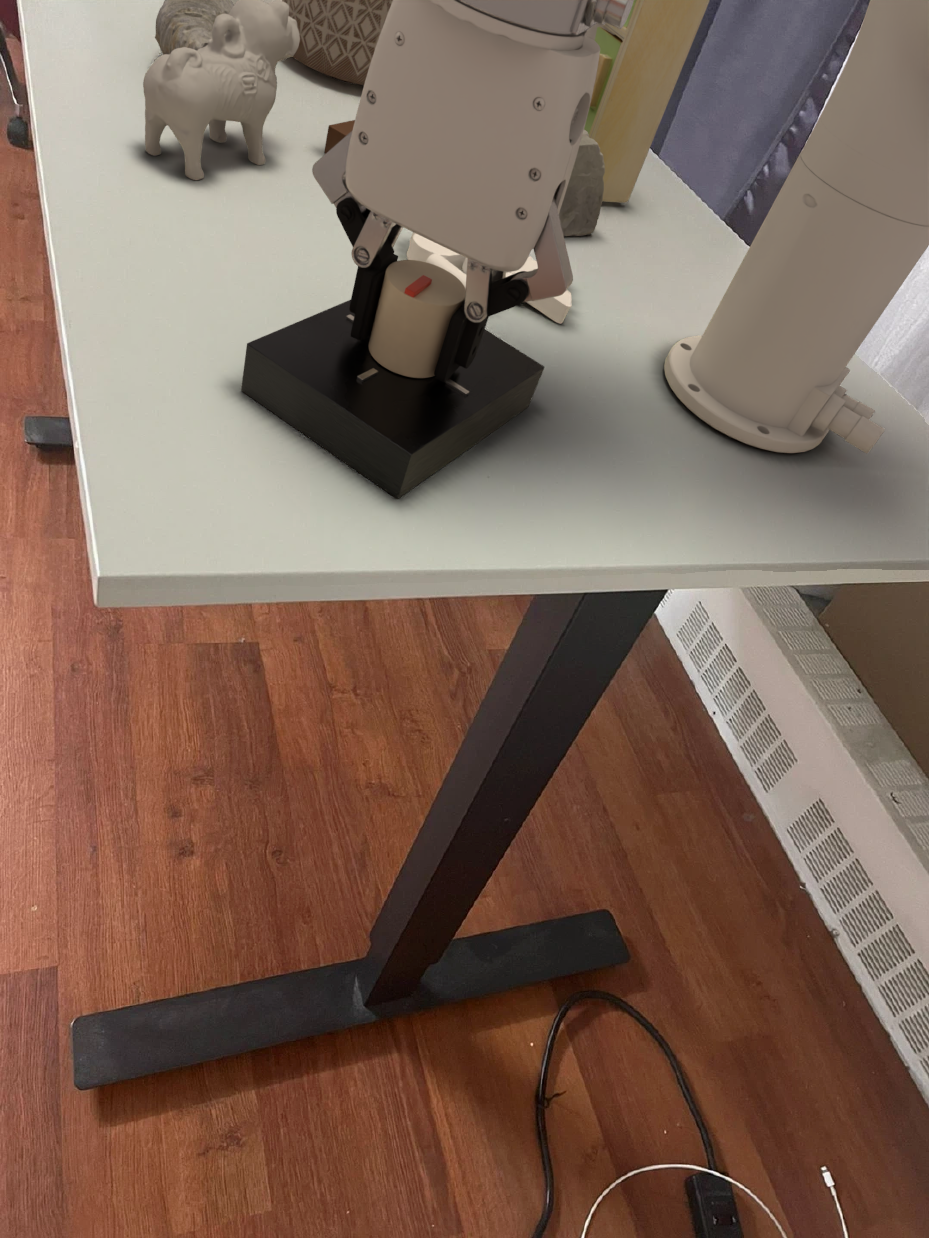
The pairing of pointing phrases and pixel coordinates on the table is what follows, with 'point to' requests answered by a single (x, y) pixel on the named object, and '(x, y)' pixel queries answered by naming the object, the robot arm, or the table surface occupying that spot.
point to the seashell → (188, 23)
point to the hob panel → (383, 398)
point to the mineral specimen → (584, 190)
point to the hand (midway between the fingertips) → (408, 347)
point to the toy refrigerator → (637, 84)
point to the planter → (338, 35)
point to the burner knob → (414, 317)
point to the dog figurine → (220, 82)
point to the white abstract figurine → (454, 262)
